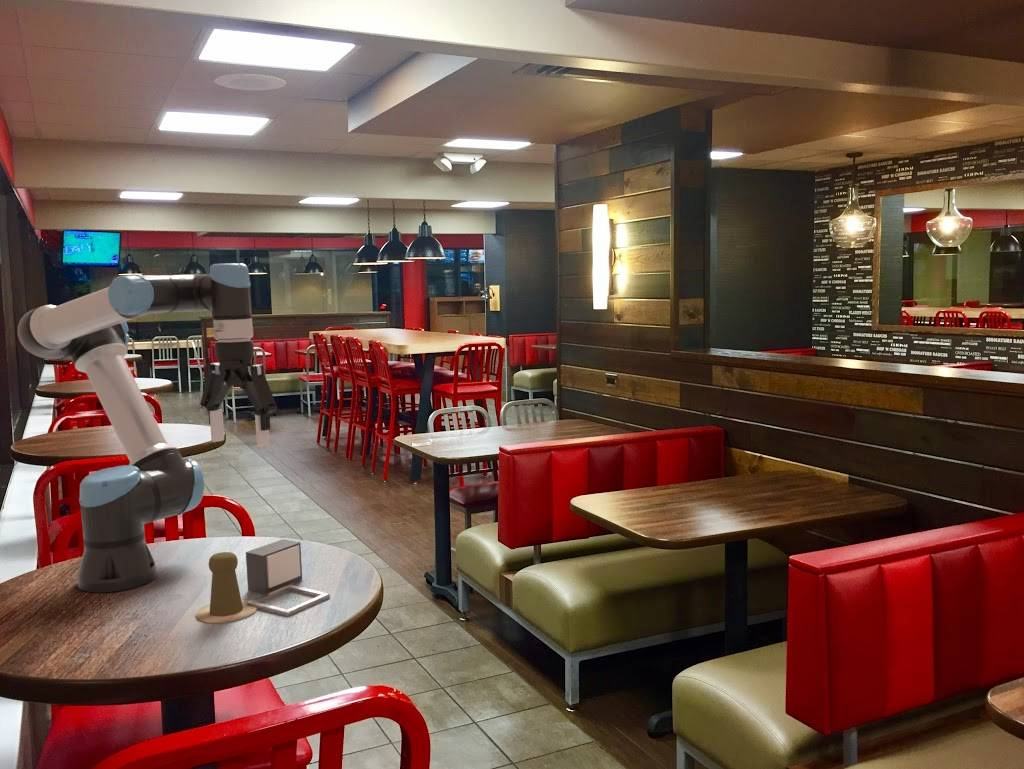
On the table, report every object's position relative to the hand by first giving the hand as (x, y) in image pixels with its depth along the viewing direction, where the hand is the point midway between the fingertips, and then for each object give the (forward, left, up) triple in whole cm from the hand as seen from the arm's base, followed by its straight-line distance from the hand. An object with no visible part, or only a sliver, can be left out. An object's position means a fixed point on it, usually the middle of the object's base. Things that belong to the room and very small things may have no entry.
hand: (240, 443), depth 181 cm
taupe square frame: (+17, -6, -29) cm, 34 cm away
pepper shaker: (+11, -15, -29) cm, 34 cm away
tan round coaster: (+11, -15, -29) cm, 34 cm away
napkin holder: (+8, 0, -29) cm, 30 cm away
